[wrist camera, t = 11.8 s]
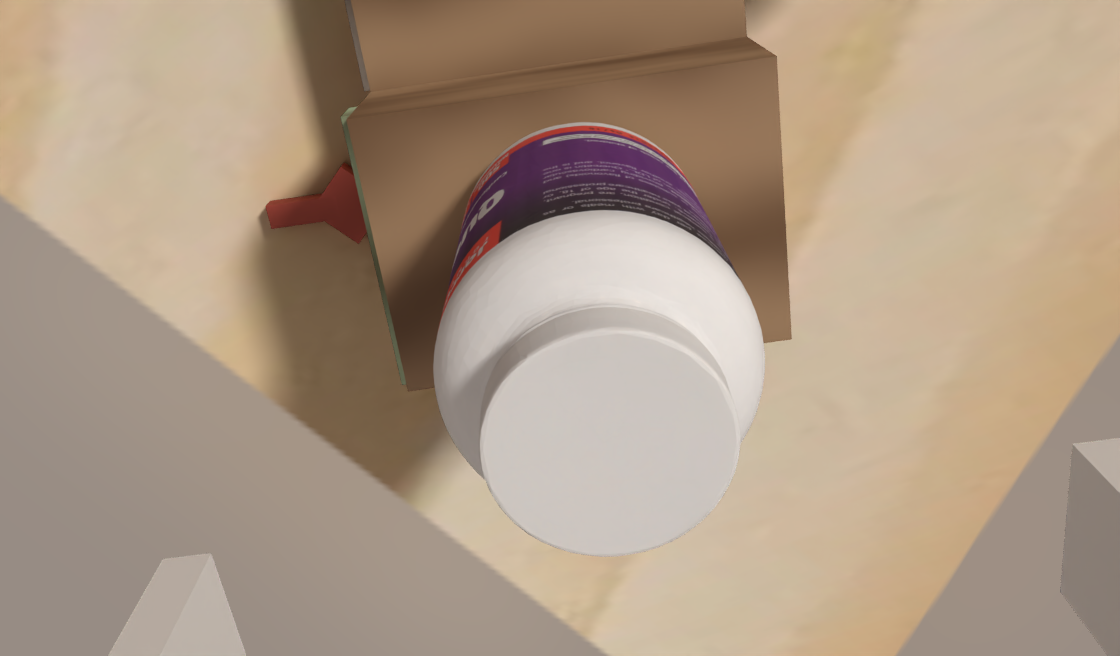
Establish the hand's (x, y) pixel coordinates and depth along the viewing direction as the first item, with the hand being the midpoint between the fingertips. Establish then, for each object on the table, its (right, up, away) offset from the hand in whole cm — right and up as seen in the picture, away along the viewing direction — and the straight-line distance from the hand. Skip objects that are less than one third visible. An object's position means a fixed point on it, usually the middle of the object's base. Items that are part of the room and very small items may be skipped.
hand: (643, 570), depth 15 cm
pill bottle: (-1, +7, +19) cm, 20 cm away
